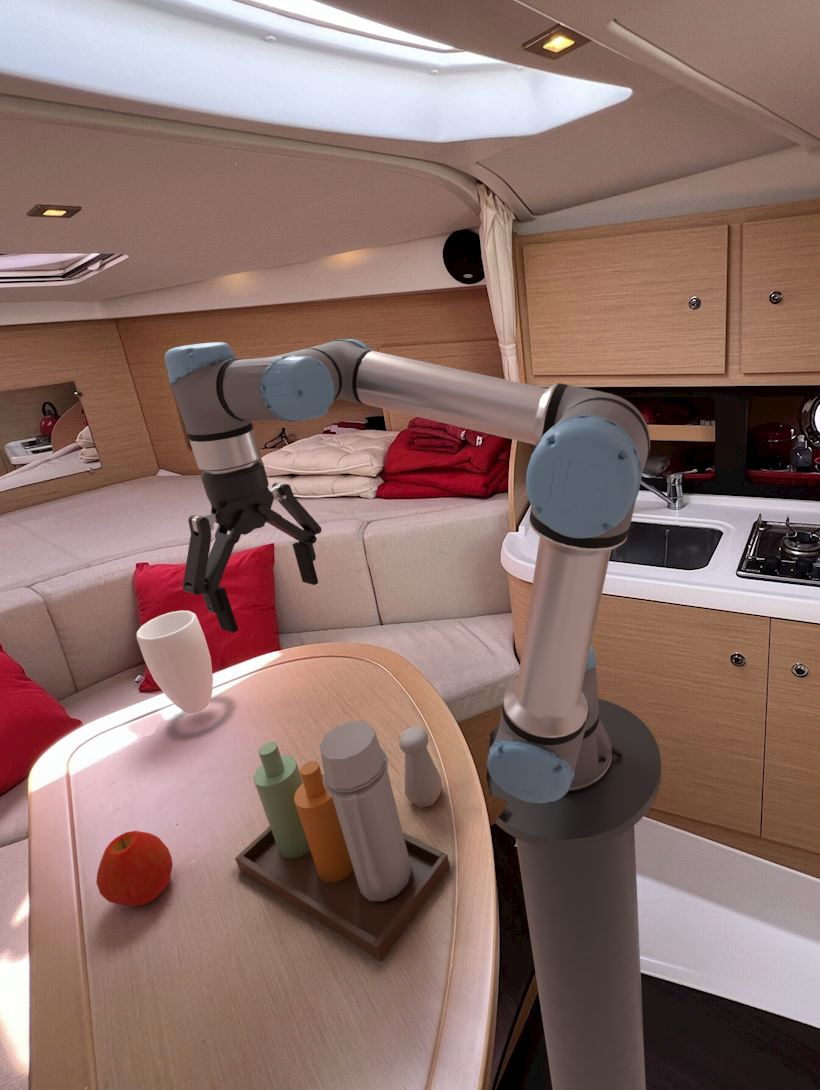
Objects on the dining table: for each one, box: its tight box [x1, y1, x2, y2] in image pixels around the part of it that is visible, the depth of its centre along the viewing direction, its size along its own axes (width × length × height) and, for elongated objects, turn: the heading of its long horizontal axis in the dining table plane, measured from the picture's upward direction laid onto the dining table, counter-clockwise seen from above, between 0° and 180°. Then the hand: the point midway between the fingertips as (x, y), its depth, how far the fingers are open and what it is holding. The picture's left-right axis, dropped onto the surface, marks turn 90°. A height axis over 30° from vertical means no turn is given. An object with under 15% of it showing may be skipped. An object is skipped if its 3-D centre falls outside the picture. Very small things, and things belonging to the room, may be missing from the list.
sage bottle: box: [253, 741, 310, 859], centre depth 86 cm, size 6×6×18 cm
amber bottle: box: [294, 760, 354, 883], centre depth 82 cm, size 6×6×18 cm
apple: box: [95, 830, 173, 907], centre depth 82 cm, size 8×8×11 cm
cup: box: [136, 610, 214, 714], centre depth 114 cm, size 10×10×22 cm
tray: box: [234, 825, 451, 962], centre depth 85 cm, size 28×14×3 cm, turn 61°
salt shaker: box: [398, 725, 443, 809], centre depth 93 cm, size 6×6×13 cm
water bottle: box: [319, 720, 412, 901], centre depth 77 cm, size 9×8×25 cm
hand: (272, 604), depth 87 cm, fingers open, 13 cm apart
